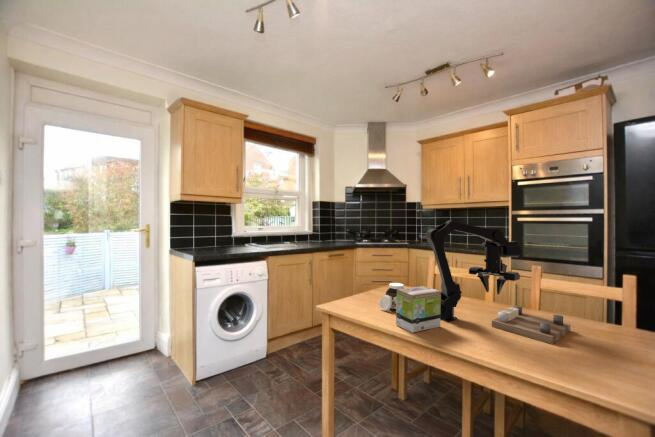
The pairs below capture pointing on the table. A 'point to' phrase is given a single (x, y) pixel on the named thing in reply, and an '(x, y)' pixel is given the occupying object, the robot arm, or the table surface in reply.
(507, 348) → the table surface
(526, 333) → the slatted wooden base
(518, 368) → the table surface
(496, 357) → the table surface
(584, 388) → the table surface
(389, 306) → the spread jar
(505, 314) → the white rectangular block
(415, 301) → the tea box
